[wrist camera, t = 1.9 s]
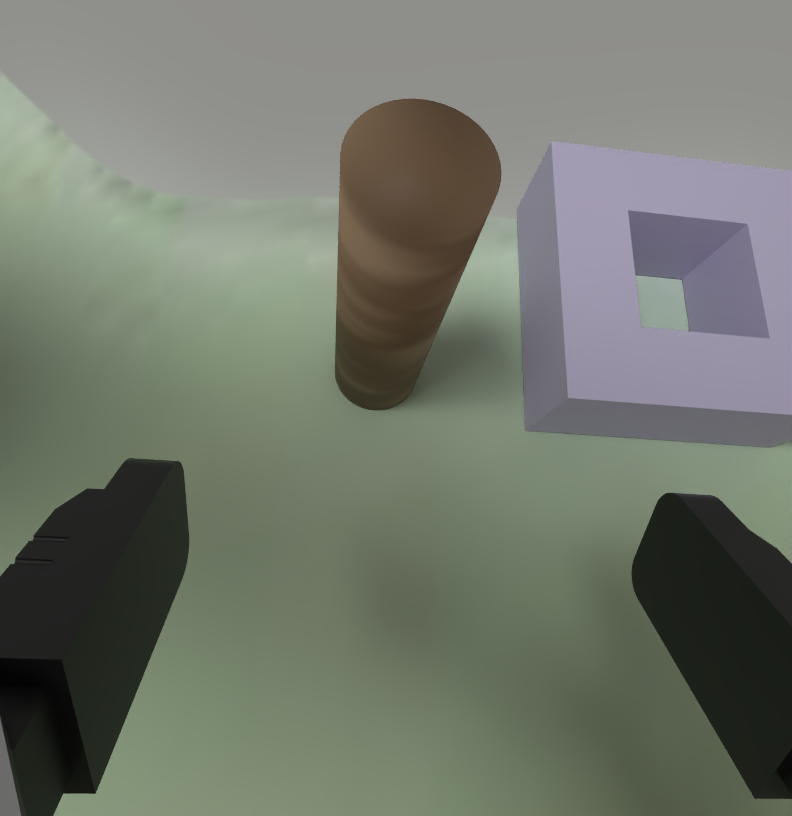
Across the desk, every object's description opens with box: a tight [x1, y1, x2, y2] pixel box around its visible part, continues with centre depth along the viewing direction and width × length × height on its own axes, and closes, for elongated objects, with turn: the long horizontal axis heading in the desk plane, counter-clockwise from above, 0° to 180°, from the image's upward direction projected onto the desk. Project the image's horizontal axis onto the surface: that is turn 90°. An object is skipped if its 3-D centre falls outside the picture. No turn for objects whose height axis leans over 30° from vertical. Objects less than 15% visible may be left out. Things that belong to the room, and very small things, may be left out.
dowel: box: [335, 99, 501, 410], centre depth 20 cm, size 4×4×14 cm
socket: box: [517, 141, 792, 447], centre depth 27 cm, size 13×13×5 cm
